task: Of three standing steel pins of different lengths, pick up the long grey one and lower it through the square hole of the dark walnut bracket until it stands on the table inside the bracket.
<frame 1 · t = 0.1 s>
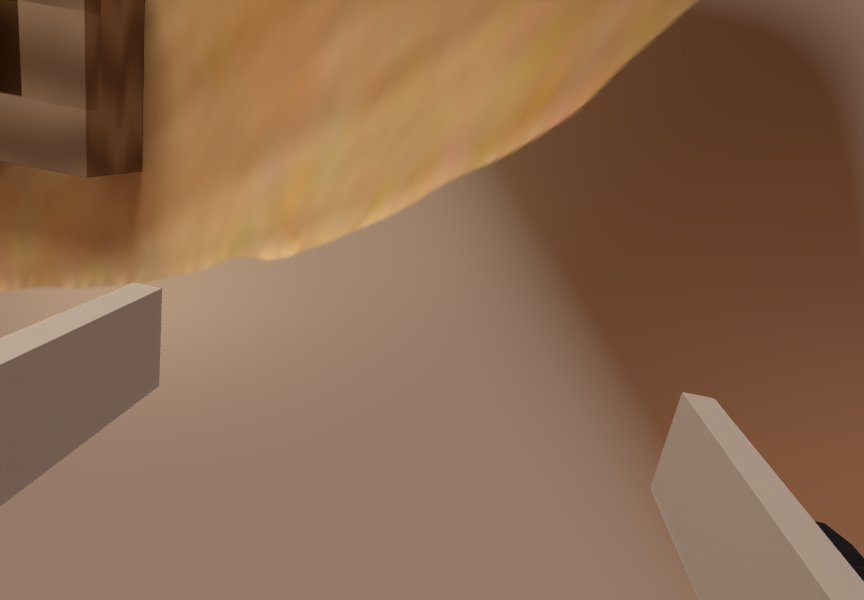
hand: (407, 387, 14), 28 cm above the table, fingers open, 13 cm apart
bracket: (49, 54, 41), on the table
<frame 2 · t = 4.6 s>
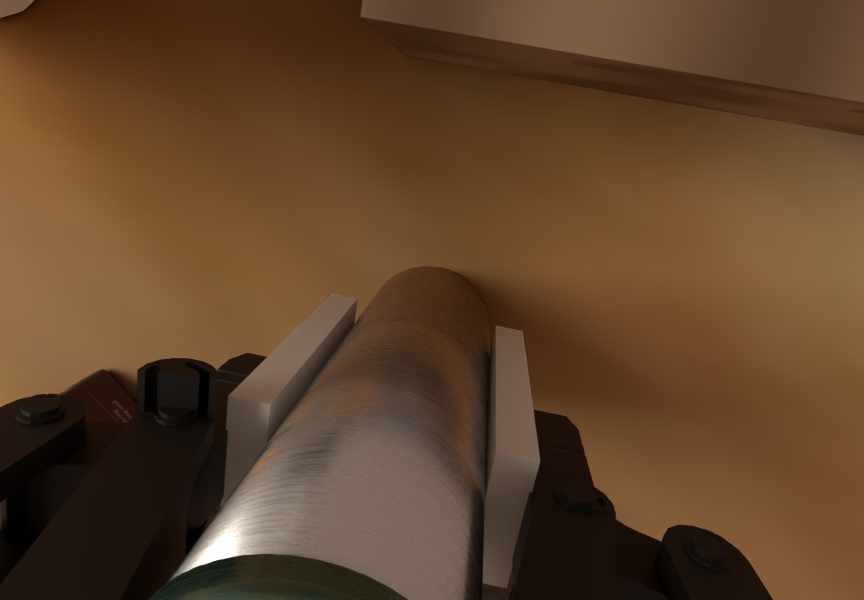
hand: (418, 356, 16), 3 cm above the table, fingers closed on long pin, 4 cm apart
short pin: (494, 571, 21), on the table
long pin: (428, 326, 19), on the table, touching gripper
box: (115, 461, 22), on the table
when the fingers open (7 cm above the table, at t = 9.0 s): long pin drops 3 cm, on the table.
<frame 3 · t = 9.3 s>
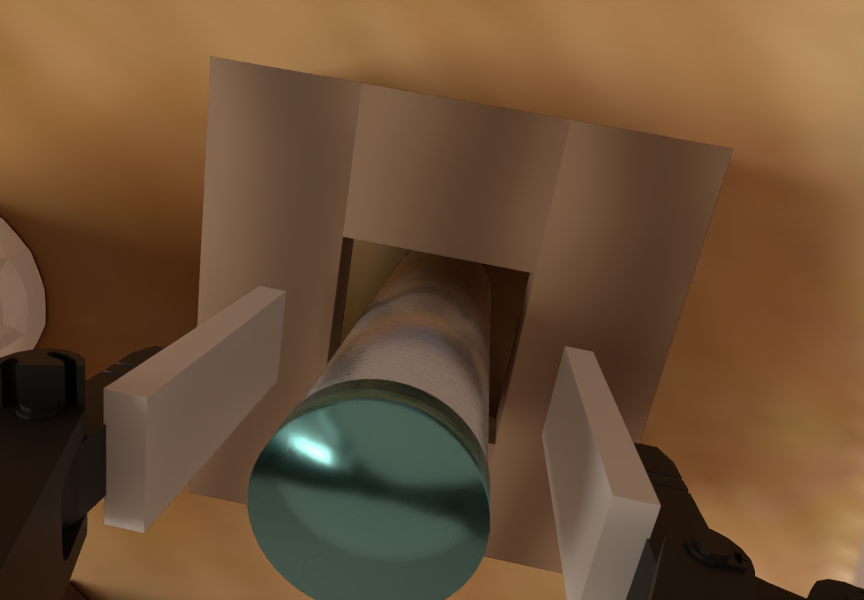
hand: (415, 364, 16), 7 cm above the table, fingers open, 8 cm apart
bracket: (440, 291, 23), on the table
long pin: (440, 291, 23), on the table
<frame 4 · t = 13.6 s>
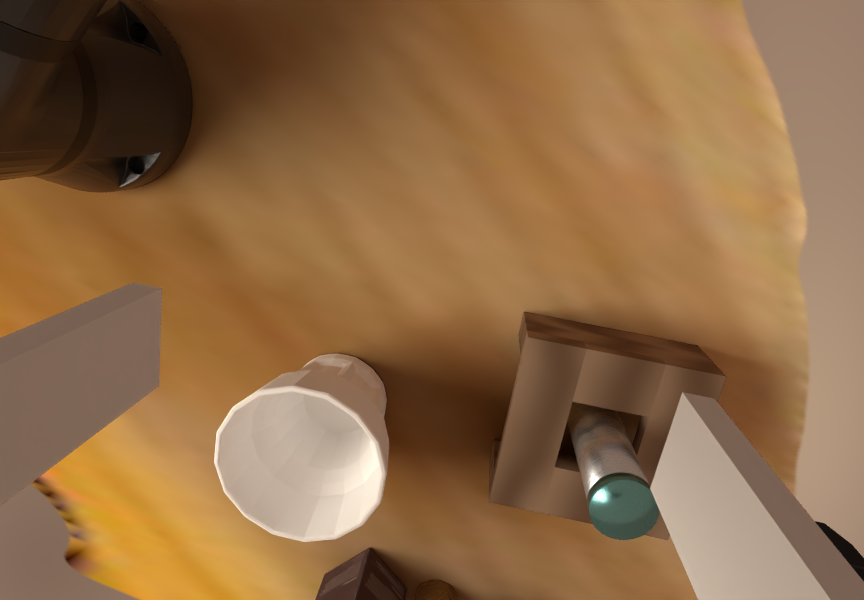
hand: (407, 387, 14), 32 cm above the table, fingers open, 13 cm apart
medium pin: (436, 596, 55), on the table
cup: (340, 396, 50), on the table
bracket: (588, 405, 48), on the table
long pin: (588, 405, 48), on the table
box: (366, 579, 56), on the table
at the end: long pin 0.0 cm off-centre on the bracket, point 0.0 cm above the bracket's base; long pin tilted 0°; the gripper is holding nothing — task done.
